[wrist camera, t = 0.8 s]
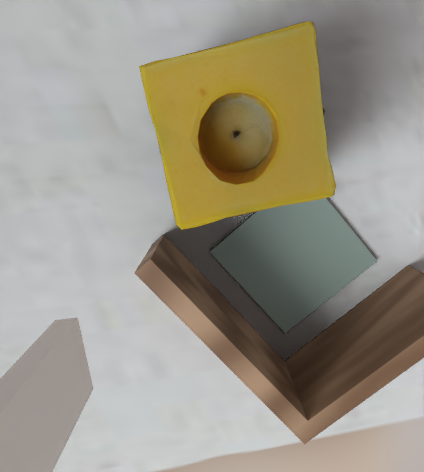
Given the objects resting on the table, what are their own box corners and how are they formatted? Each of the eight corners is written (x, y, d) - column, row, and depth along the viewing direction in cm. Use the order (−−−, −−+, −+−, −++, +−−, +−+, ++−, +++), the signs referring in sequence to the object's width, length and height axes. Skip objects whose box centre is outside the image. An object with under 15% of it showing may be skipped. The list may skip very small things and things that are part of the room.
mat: (209, 251, 32) (209, 252, 31) (303, 170, 30) (304, 170, 30) (284, 332, 34) (285, 333, 33) (375, 260, 32) (377, 260, 32)
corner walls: (152, 244, 31) (134, 273, 24) (292, 119, 29) (323, 104, 21) (282, 379, 35) (304, 443, 27) (417, 276, 33) (483, 313, 25)
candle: (281, 65, 28) (318, 12, 18) (301, 186, 30) (344, 197, 20) (160, 93, 29) (134, 56, 19) (188, 211, 31) (177, 232, 21)
